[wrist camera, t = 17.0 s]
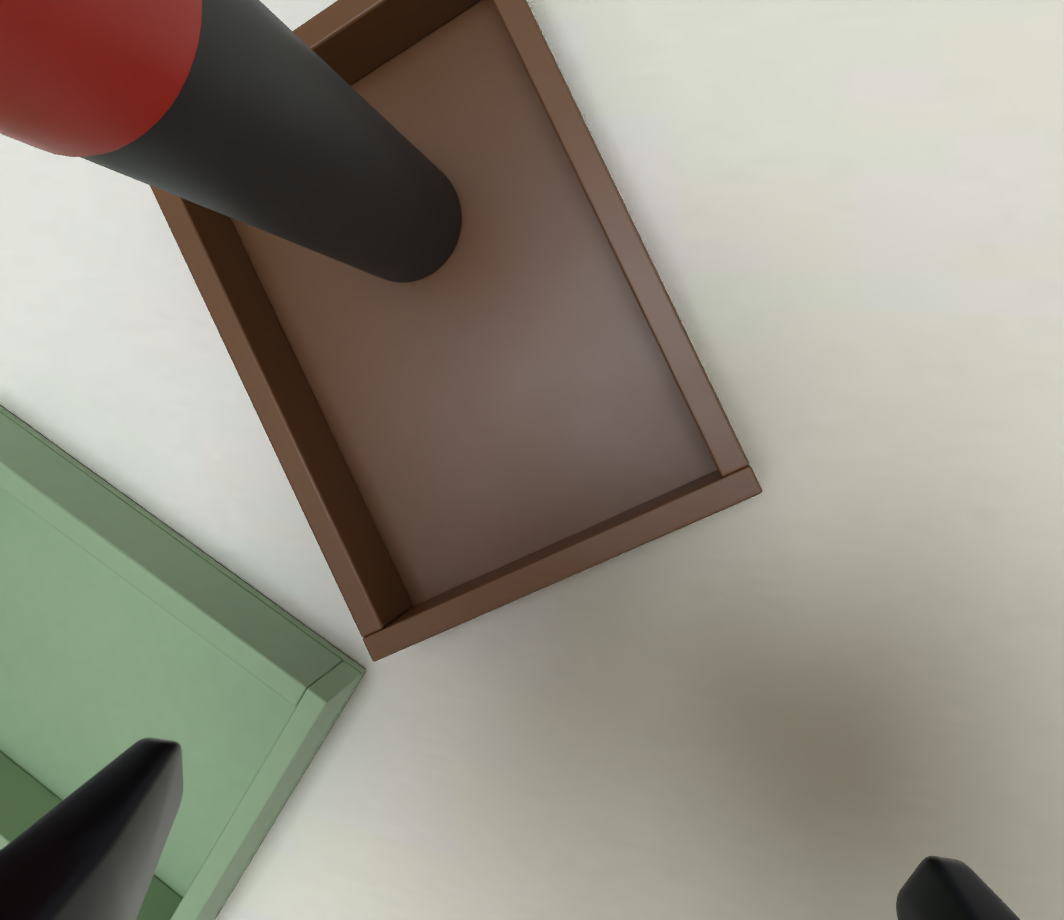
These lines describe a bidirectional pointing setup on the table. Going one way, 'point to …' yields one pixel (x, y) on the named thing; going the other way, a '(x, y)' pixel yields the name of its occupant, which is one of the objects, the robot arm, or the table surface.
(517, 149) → the walnut tray
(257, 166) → the thermos
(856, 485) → the table surface
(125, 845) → the robot arm
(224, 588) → the green tray
